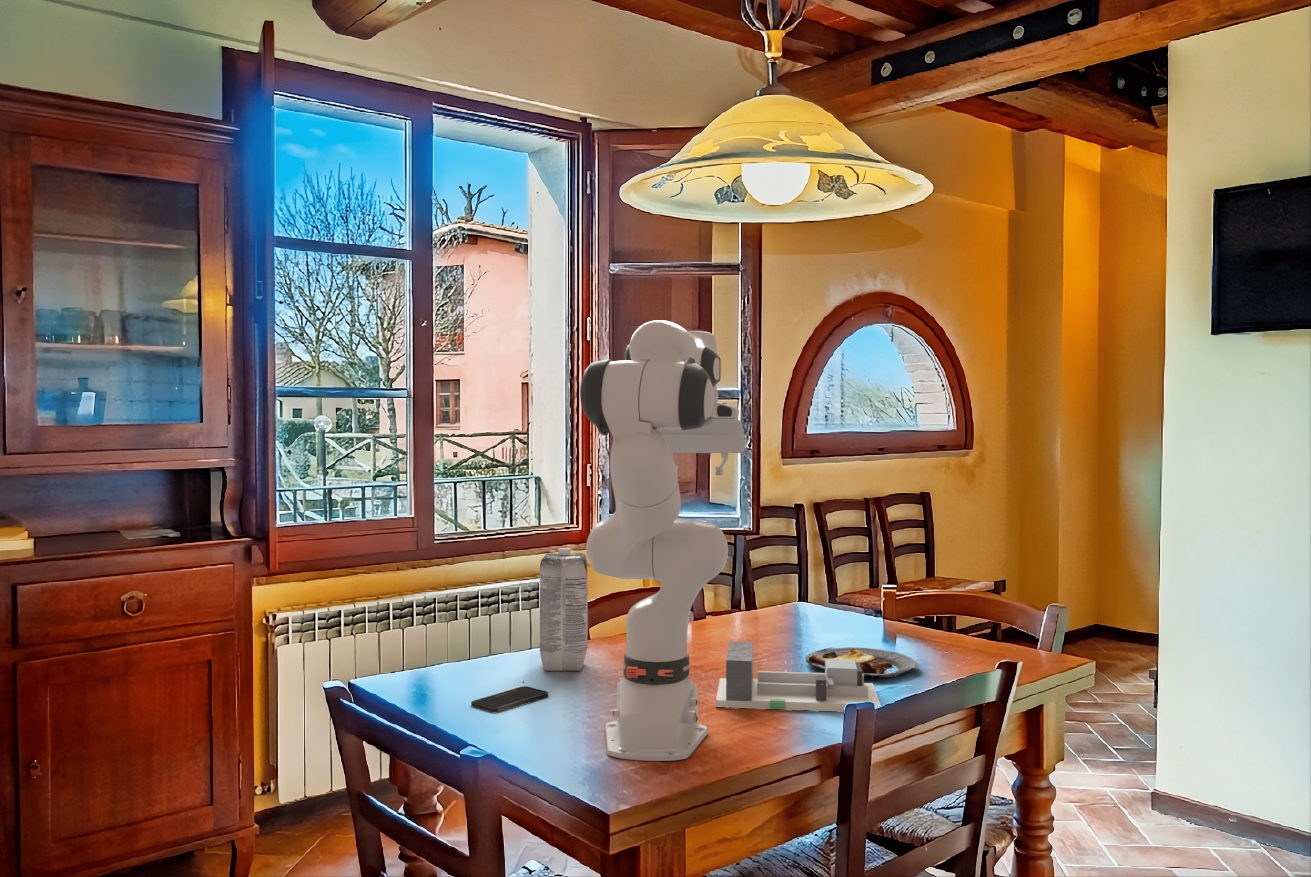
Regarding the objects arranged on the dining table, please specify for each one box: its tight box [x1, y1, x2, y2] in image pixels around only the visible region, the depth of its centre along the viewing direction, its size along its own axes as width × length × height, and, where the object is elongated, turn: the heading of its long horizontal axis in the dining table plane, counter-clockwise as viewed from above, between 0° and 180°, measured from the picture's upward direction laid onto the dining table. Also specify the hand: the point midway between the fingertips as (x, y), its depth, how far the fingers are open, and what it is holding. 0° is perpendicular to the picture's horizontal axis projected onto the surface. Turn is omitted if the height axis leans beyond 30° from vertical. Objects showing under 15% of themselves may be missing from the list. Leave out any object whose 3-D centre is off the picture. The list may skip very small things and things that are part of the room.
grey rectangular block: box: [725, 640, 754, 701], centre depth 204 cm, size 16×5×8 cm, turn 173°
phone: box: [470, 685, 549, 713], centre depth 201 cm, size 8×1×15 cm
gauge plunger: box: [824, 659, 862, 690], centre depth 202 cm, size 12×7×5 cm, turn 173°
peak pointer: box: [815, 676, 827, 701], centre depth 197 cm, size 5×2×4 cm, turn 173°
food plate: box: [805, 646, 920, 678], centre depth 227 cm, size 25×23×4 cm
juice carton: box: [539, 547, 588, 672], centre depth 227 cm, size 9×10×27 cm
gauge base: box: [715, 670, 882, 713], centre depth 203 cm, size 16×32×4 cm, turn 83°
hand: (696, 474), depth 210 cm, fingers open, 8 cm apart
